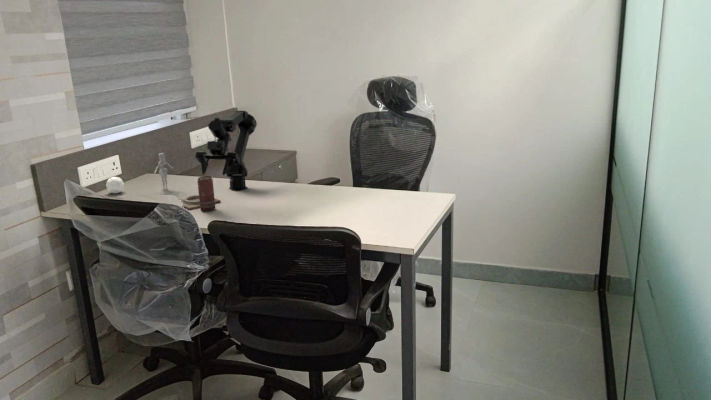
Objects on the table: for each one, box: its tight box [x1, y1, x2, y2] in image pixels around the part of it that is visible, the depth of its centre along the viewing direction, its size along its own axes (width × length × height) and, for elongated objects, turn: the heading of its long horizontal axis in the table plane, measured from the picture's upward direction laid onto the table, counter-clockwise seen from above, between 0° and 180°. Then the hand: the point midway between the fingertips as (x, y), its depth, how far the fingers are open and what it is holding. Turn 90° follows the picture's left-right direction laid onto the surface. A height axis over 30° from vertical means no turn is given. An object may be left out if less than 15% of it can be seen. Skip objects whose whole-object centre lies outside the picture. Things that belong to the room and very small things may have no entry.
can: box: [197, 176, 216, 213], centre depth 234 cm, size 6×6×14 cm
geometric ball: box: [105, 176, 125, 194], centre depth 264 cm, size 8×8×8 cm
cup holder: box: [179, 194, 221, 211], centre depth 247 cm, size 15×15×2 cm
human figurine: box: [153, 152, 174, 192], centre depth 265 cm, size 12×4×18 cm, turn 152°
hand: (213, 174), depth 239 cm, fingers open, 9 cm apart
